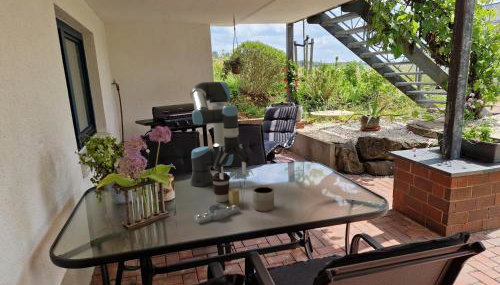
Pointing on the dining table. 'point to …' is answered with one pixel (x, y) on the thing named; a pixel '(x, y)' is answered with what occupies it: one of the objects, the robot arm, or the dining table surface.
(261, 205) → the planter
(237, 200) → the link peg
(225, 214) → the chain end
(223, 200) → the coffee cup
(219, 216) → the chain end
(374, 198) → the dining table surface
